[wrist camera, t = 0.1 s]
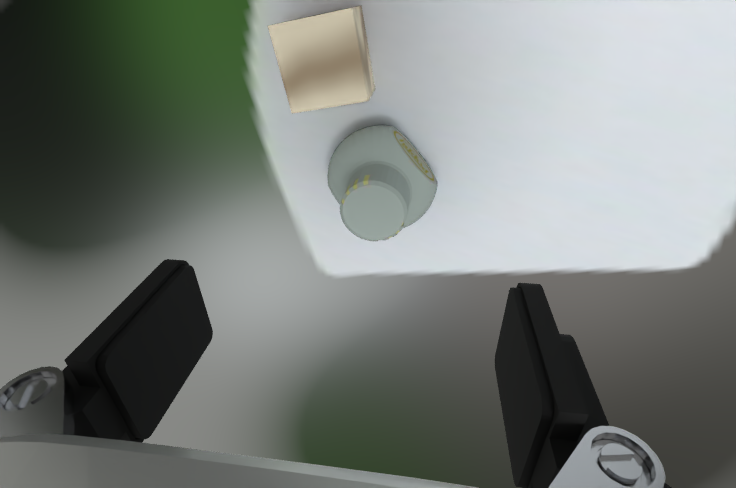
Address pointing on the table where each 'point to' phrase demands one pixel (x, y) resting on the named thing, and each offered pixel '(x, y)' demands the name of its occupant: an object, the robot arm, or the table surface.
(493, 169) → the table surface
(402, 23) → the table surface
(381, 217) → the air freshener
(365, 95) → the maple block
